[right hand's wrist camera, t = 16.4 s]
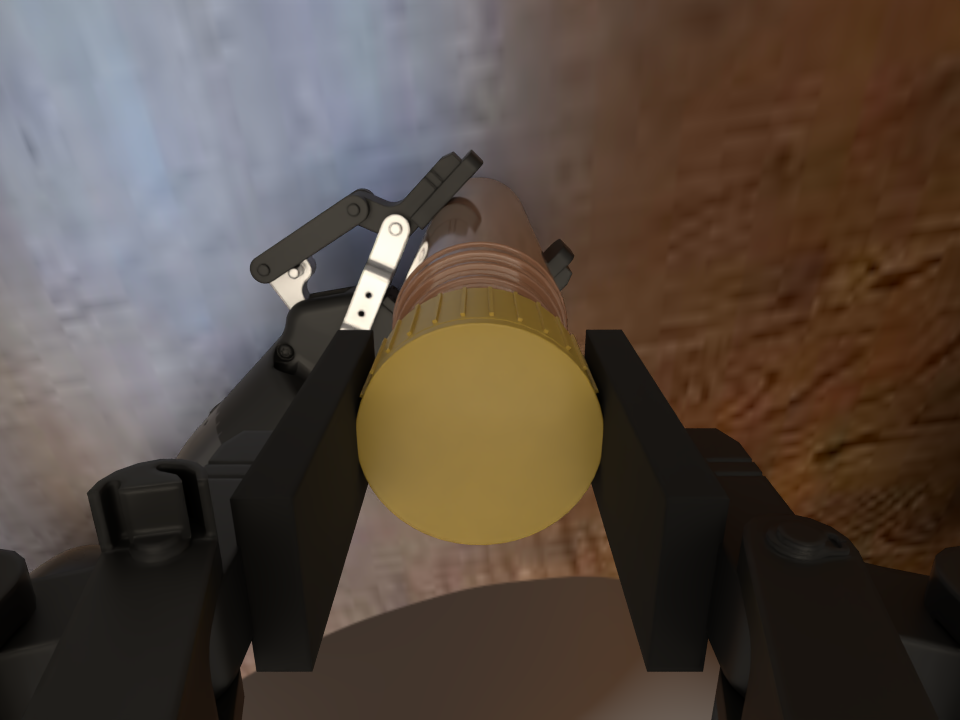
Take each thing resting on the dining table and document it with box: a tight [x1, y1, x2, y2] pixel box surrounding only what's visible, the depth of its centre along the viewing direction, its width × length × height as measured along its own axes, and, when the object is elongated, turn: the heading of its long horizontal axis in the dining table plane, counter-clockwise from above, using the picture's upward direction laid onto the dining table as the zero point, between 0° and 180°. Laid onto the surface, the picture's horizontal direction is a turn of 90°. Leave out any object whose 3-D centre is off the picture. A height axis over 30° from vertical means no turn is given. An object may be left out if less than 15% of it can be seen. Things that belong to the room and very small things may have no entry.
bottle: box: [392, 177, 568, 331], centre depth 24 cm, size 5×5×24 cm
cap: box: [356, 287, 603, 545], centre depth 13 cm, size 5×5×2 cm
